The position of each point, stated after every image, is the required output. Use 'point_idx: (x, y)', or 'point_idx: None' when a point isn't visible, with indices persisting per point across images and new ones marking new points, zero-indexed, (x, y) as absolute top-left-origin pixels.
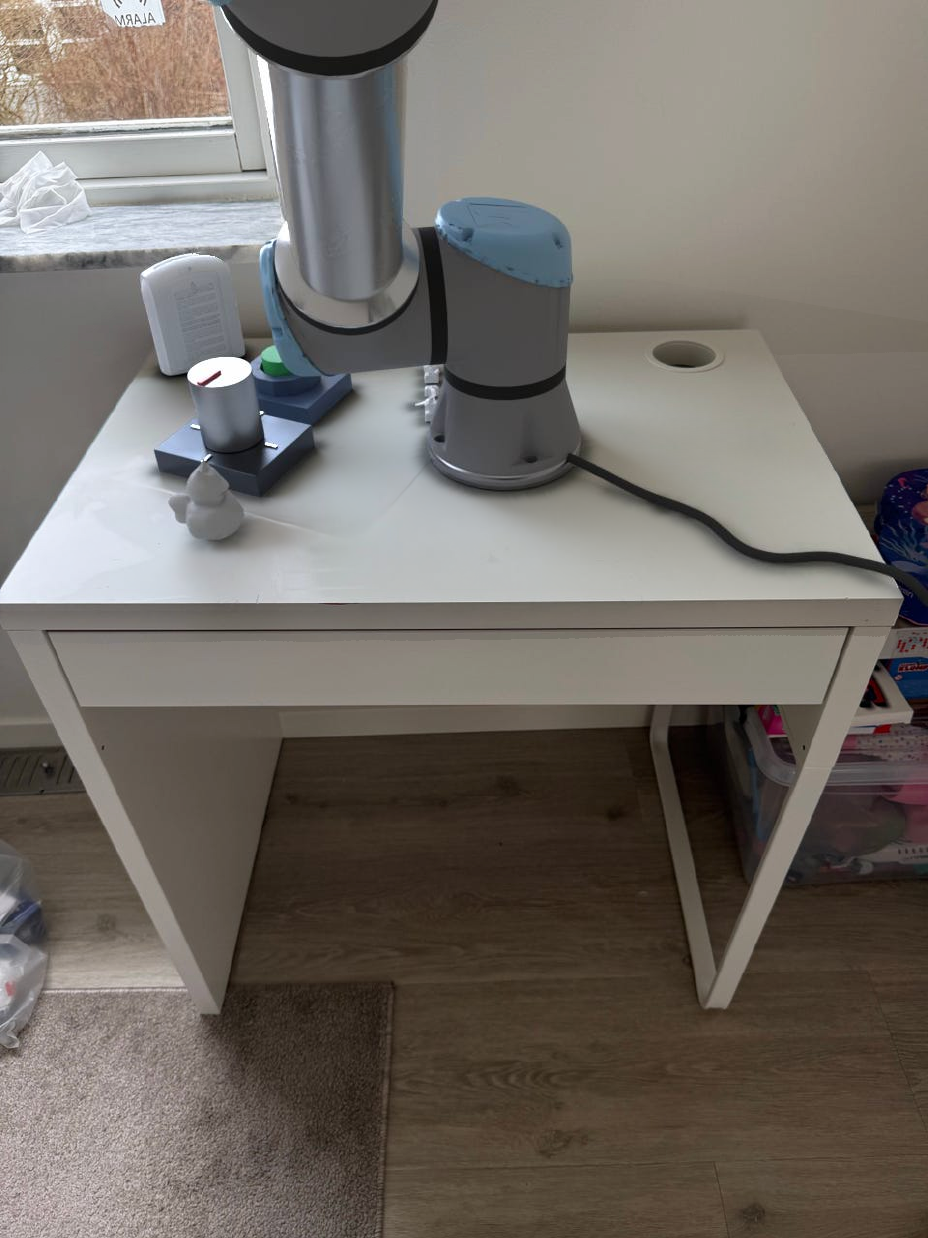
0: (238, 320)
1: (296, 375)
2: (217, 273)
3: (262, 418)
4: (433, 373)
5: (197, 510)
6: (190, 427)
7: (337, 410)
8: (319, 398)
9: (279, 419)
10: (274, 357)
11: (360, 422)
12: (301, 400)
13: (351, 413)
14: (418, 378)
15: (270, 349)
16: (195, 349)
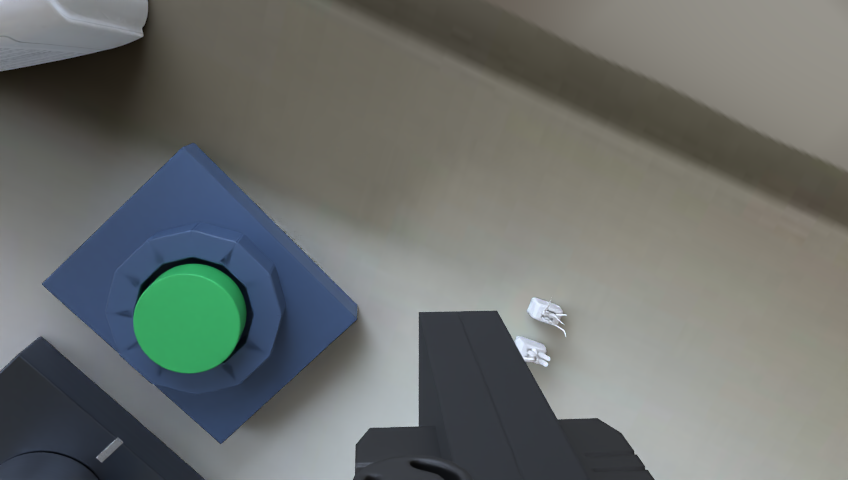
0: (113, 33)
1: (213, 379)
2: (12, 38)
3: (116, 461)
4: (536, 356)
5: None
6: None
7: (301, 379)
8: (257, 410)
9: (151, 477)
10: (165, 340)
11: (332, 441)
12: (216, 405)
13: (325, 401)
14: (508, 316)
15: (163, 294)
16: None
